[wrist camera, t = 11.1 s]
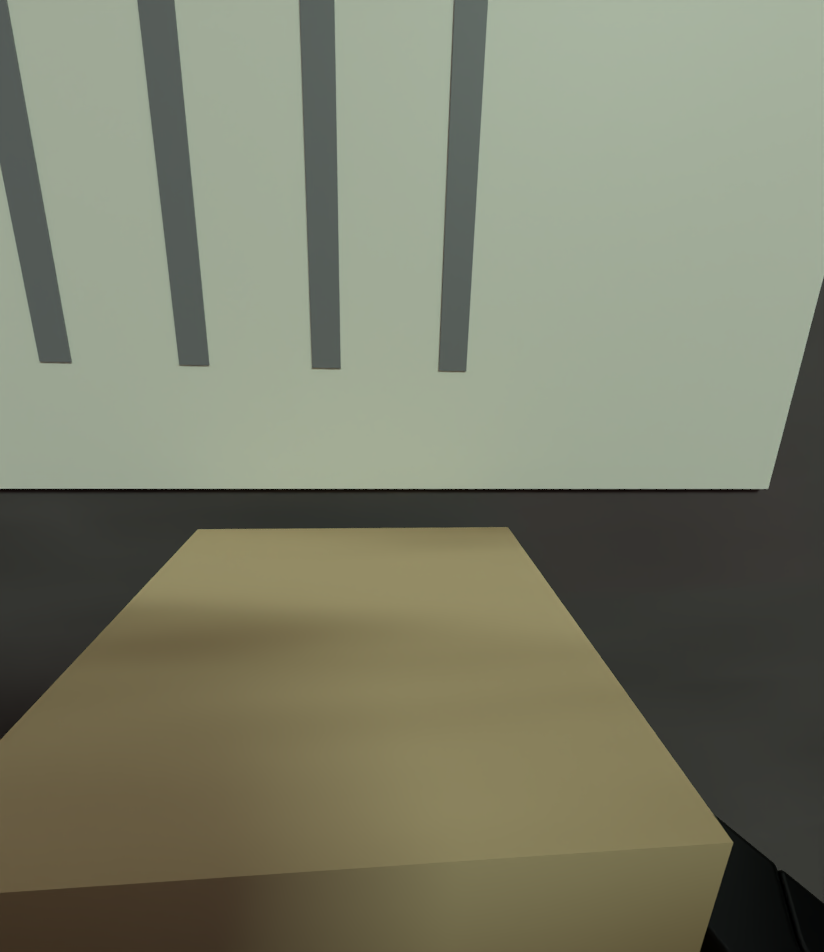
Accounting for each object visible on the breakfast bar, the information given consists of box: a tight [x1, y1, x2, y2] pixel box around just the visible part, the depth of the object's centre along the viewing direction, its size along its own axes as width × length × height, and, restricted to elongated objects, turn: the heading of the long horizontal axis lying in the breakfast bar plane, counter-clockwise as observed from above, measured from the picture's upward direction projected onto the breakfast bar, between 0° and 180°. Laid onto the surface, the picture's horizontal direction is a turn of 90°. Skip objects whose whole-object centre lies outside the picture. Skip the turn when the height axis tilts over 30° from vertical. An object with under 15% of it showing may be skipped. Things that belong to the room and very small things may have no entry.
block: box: [0, 527, 733, 952], centre depth 6 cm, size 5×5×5 cm
